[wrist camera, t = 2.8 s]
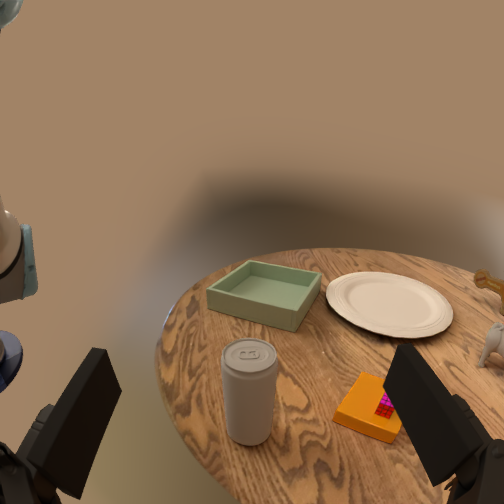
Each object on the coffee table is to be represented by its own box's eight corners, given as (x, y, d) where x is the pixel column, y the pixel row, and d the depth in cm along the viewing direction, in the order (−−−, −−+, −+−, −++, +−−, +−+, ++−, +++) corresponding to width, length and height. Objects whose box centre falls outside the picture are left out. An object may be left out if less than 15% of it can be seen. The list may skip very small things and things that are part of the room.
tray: (207, 308, 52) (206, 288, 50) (249, 276, 67) (249, 259, 65) (294, 332, 44) (297, 311, 43) (319, 290, 59) (322, 272, 58)
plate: (369, 269, 71) (370, 263, 70) (462, 305, 49) (465, 298, 48) (295, 301, 55) (296, 292, 54) (422, 368, 32) (426, 359, 32)
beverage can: (273, 446, 23) (282, 371, 19) (227, 448, 23) (219, 373, 19) (268, 414, 28) (274, 335, 24) (227, 416, 27) (220, 337, 24)
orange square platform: (331, 420, 26) (339, 398, 25) (358, 382, 32) (365, 359, 31) (390, 444, 21) (404, 423, 20) (409, 400, 27) (420, 378, 26)
